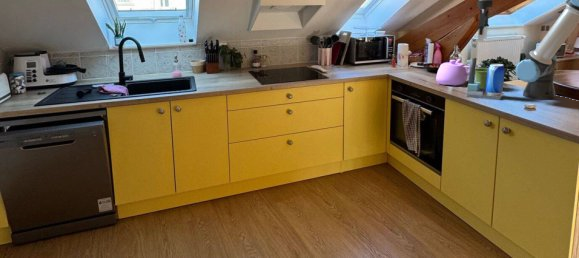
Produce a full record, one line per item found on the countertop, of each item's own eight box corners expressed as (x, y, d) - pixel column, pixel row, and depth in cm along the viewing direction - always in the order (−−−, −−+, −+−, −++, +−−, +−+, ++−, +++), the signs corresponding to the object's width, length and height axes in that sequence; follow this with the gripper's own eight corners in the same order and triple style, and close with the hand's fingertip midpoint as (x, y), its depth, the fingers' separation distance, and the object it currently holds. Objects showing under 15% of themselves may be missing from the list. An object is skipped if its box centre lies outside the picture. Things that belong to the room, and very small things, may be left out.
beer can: (495, 96, 230) (498, 66, 225) (482, 93, 237) (484, 64, 232) (505, 94, 234) (508, 64, 229) (491, 91, 241) (494, 63, 236)
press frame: (503, 95, 237) (504, 89, 236) (500, 99, 229) (500, 93, 228) (471, 92, 247) (471, 86, 245) (466, 96, 238) (467, 90, 237)
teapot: (467, 88, 258) (469, 63, 253) (432, 85, 270) (434, 61, 266) (477, 81, 275) (479, 58, 270) (444, 78, 287) (446, 56, 283)
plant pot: (470, 86, 263) (471, 68, 259) (490, 86, 261) (492, 67, 258) (475, 90, 252) (476, 71, 248) (496, 90, 250) (498, 71, 246)
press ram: (479, 91, 242) (482, 57, 237) (476, 94, 236) (479, 59, 230) (469, 90, 245) (472, 57, 240) (466, 93, 239) (469, 59, 233)
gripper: (481, -1, 243) (478, 37, 249) (474, 0, 222) (471, 42, 228) (495, -2, 239) (492, 37, 245) (490, 0, 219) (486, 42, 225)
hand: (482, 39), depth 237 cm, fingers open, 13 cm apart
